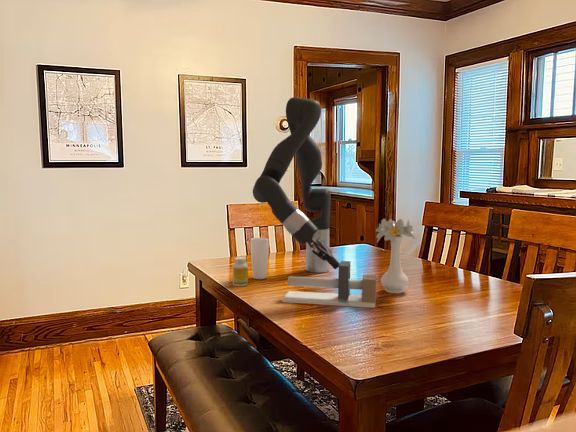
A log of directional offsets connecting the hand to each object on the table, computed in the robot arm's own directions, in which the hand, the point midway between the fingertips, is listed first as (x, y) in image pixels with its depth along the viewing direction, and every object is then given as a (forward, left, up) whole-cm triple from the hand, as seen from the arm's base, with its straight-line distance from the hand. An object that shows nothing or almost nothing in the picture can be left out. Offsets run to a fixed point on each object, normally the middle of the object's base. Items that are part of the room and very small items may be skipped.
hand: (337, 267), depth 156 cm
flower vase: (-22, +11, -11) cm, 26 cm away
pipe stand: (+1, -2, -11) cm, 11 cm away
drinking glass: (-13, -38, -11) cm, 42 cm away
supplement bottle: (-1, -38, -11) cm, 40 cm away
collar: (-1, +2, -9) cm, 9 cm away
